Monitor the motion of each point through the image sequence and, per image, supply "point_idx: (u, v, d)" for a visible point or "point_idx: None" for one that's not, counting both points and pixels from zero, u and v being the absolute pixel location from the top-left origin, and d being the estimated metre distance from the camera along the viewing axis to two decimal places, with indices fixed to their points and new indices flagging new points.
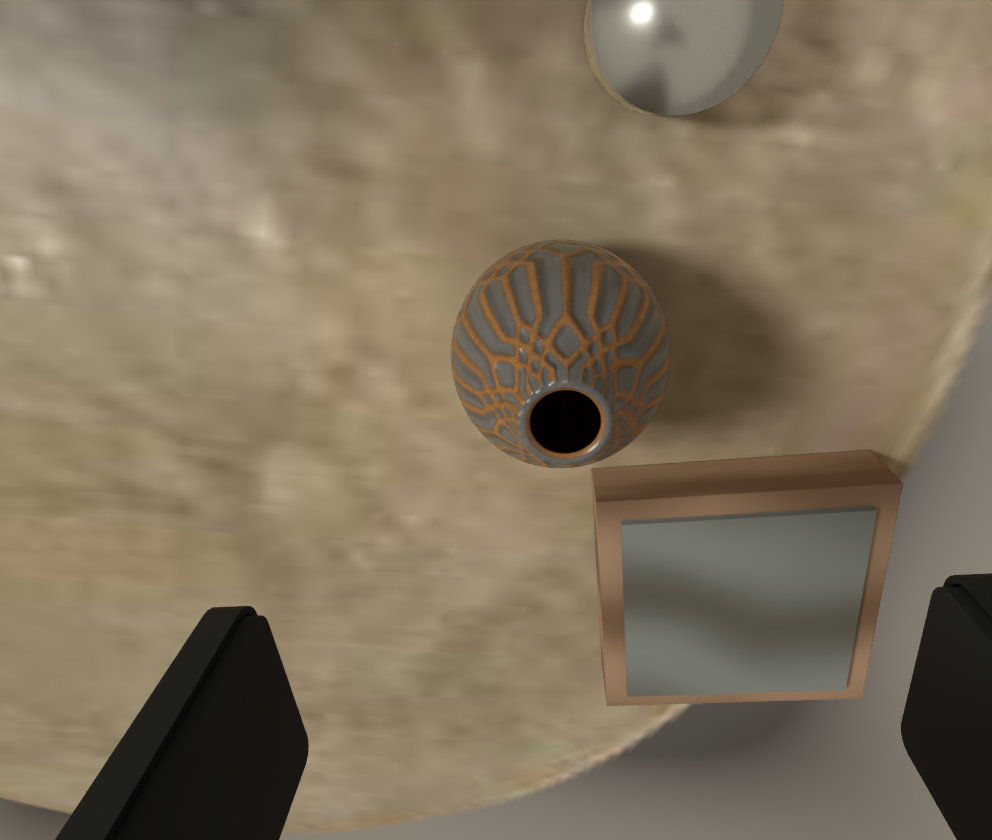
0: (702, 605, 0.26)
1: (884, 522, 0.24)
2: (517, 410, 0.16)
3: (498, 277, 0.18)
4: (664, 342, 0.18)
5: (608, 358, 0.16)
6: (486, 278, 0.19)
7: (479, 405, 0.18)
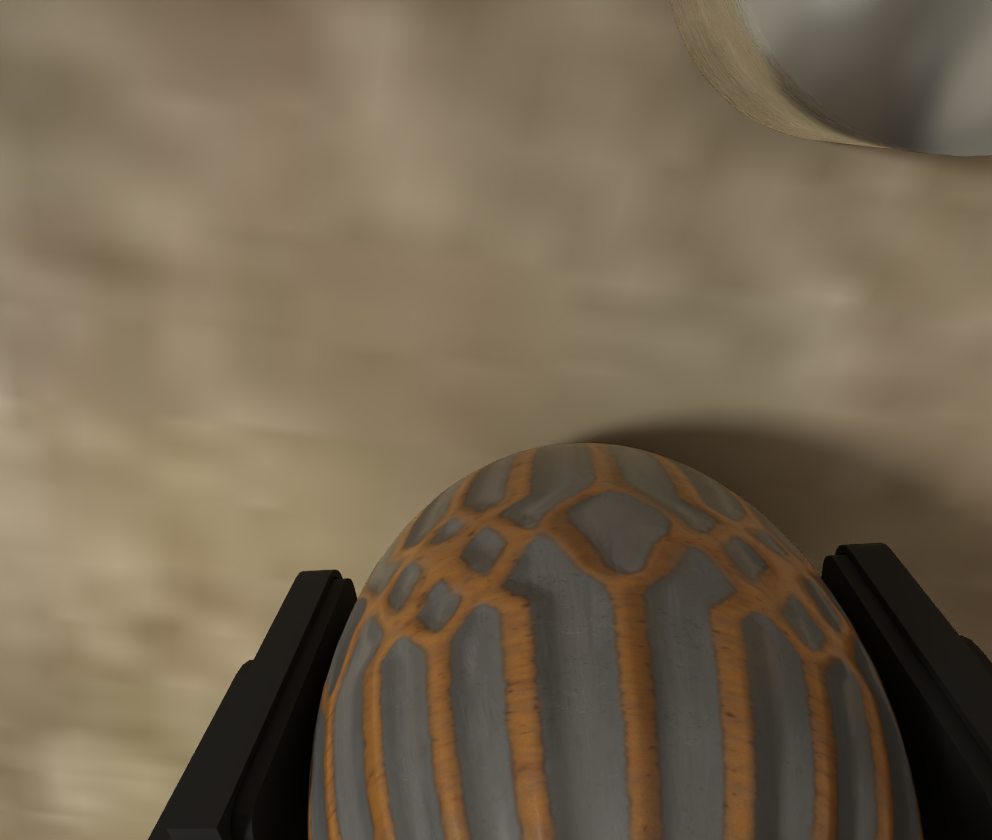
0: None
1: None
2: None
3: (420, 638, 0.06)
4: None
5: None
6: (394, 606, 0.07)
7: None
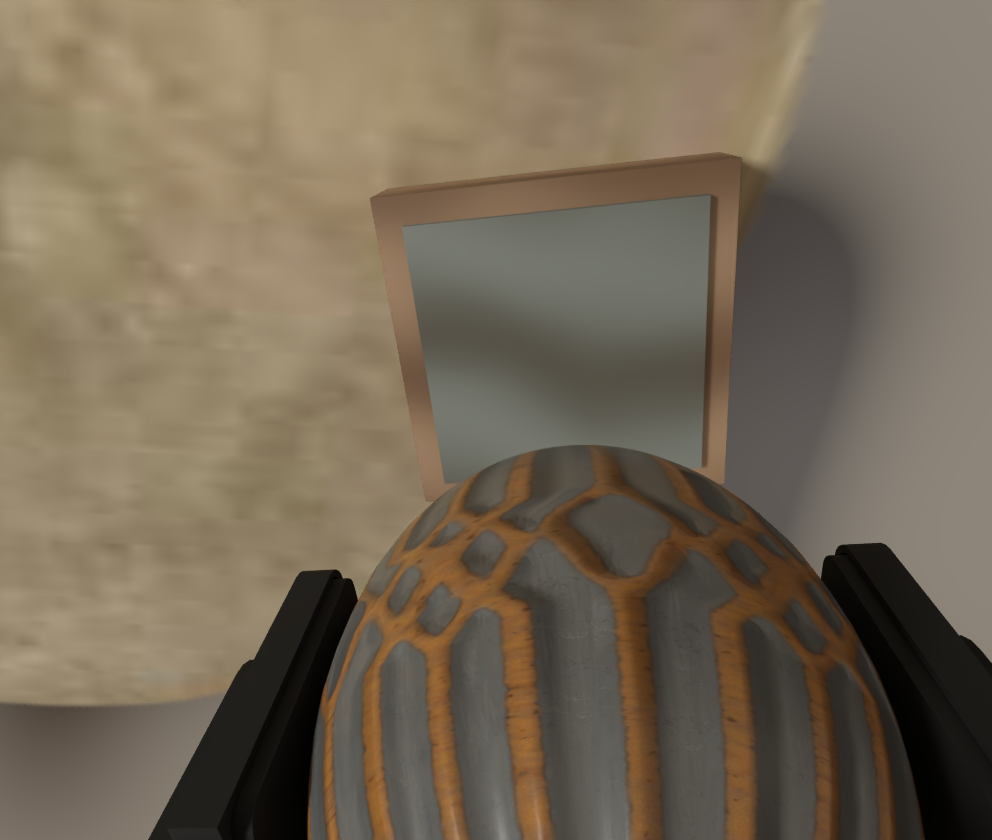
0: (515, 346, 0.21)
1: (725, 219, 0.19)
2: None
3: (420, 640, 0.06)
4: None
5: None
6: (394, 609, 0.07)
7: None
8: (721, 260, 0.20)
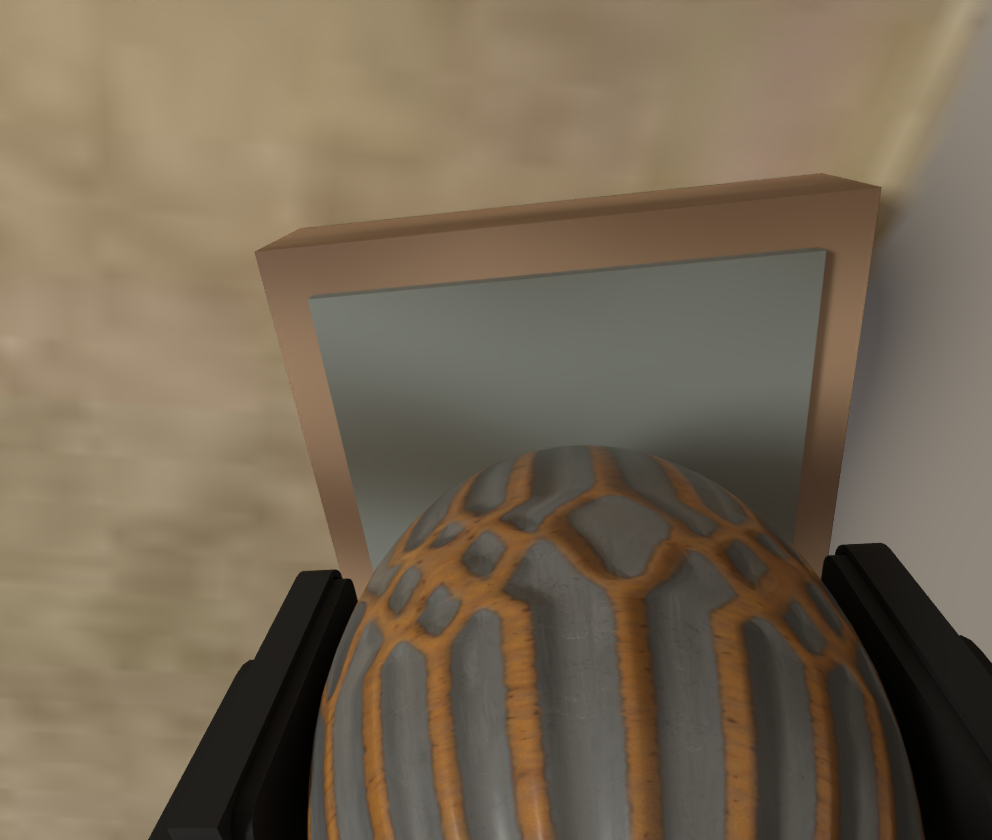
0: None
1: (844, 288, 0.11)
2: None
3: (420, 641, 0.06)
4: None
5: None
6: (394, 609, 0.07)
7: None
8: (833, 352, 0.12)
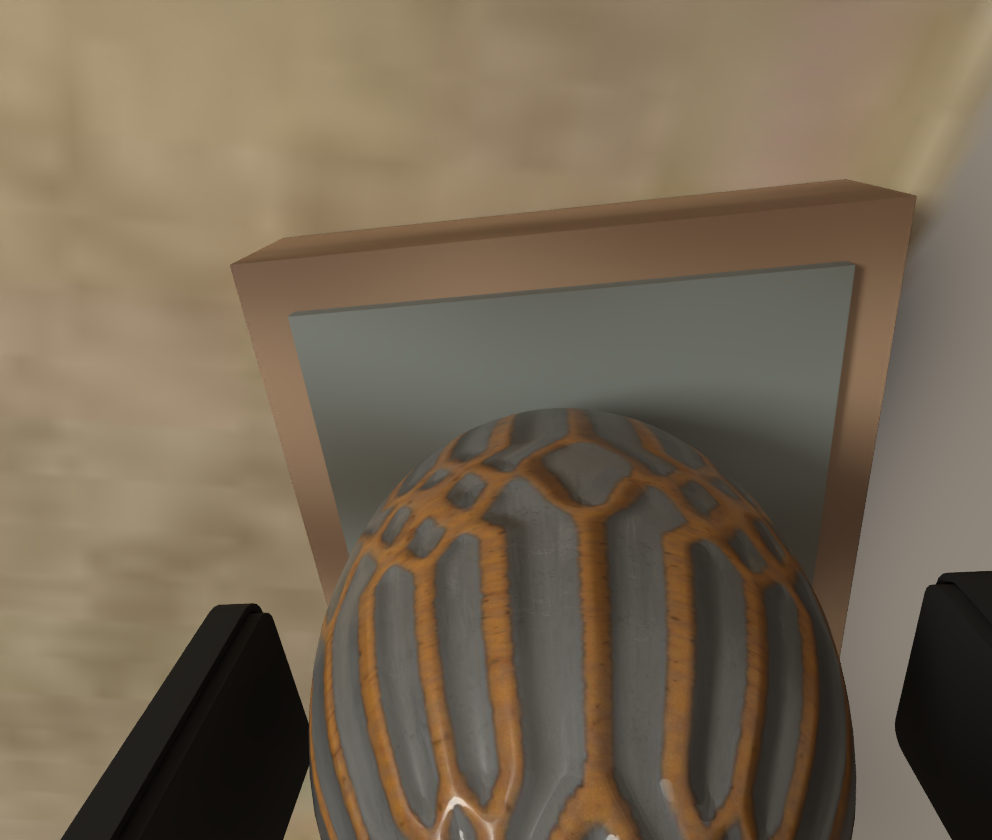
0: None
1: (874, 306, 0.10)
2: None
3: (409, 563, 0.07)
4: (852, 744, 0.07)
5: None
6: (387, 541, 0.08)
7: None
8: (860, 375, 0.11)
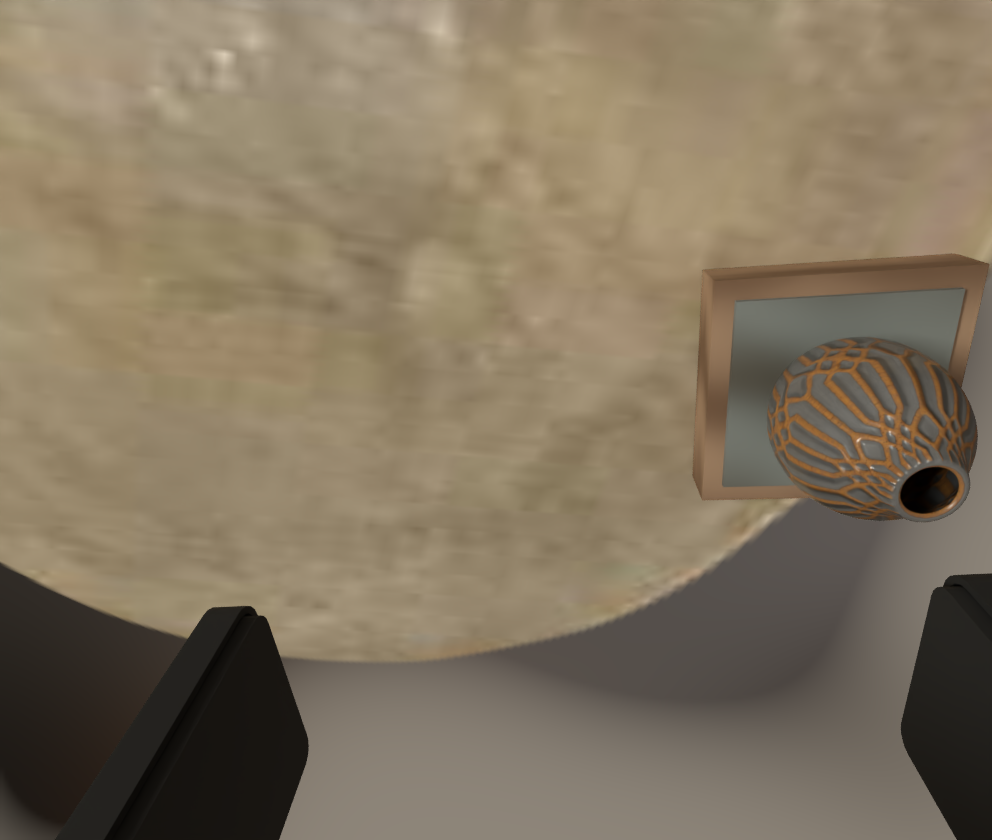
0: None
1: (970, 304, 0.27)
2: (891, 479, 0.21)
3: (844, 371, 0.24)
4: None
5: (958, 442, 0.21)
6: (826, 369, 0.24)
7: (829, 470, 0.23)
8: (962, 332, 0.28)
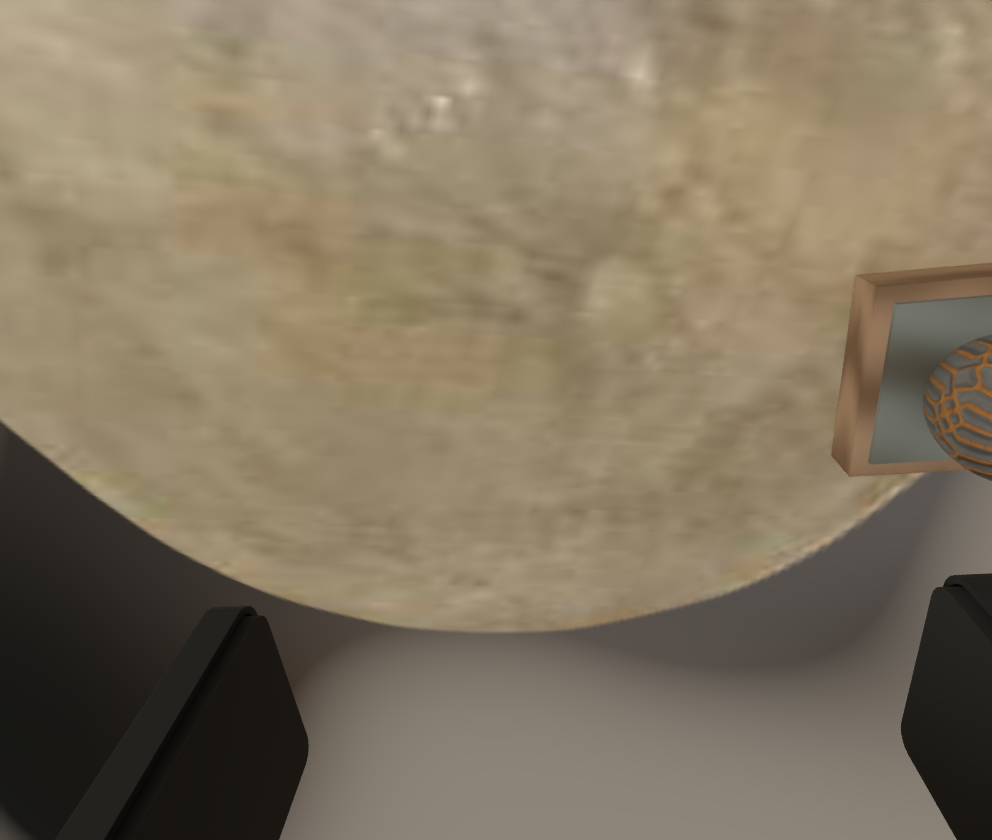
0: None
1: None
2: None
3: None
4: None
5: None
6: None
7: None
8: None
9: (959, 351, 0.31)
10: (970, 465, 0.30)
